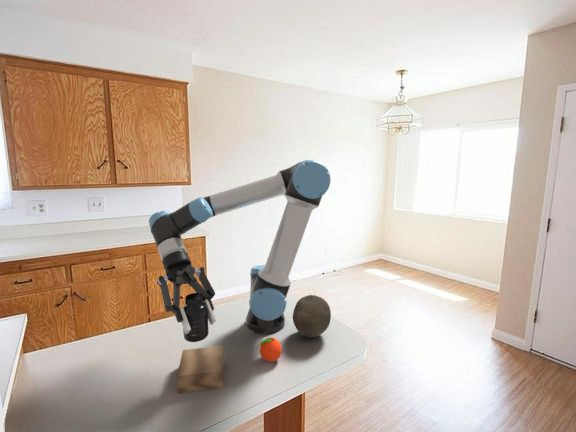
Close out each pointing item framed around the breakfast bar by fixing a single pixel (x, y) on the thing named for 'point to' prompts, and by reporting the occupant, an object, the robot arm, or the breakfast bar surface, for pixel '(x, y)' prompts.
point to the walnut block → (201, 369)
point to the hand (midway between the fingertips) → (201, 327)
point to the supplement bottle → (196, 317)
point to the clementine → (270, 349)
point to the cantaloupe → (311, 316)
